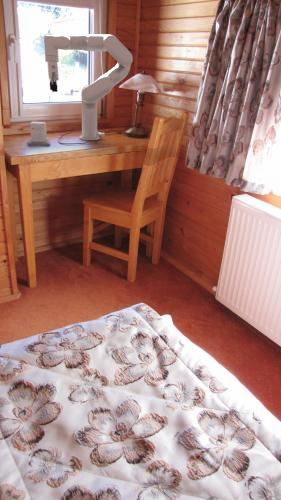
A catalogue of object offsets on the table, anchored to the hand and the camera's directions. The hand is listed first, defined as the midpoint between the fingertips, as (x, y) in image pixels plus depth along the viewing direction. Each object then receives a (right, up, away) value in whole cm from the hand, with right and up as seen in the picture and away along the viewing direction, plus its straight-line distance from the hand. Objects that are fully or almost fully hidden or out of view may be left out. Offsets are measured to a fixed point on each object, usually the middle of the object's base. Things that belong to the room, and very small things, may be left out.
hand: (53, 90), depth 237 cm
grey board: (-8, -33, -5) cm, 35 cm away
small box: (-7, -32, -6) cm, 33 cm away
